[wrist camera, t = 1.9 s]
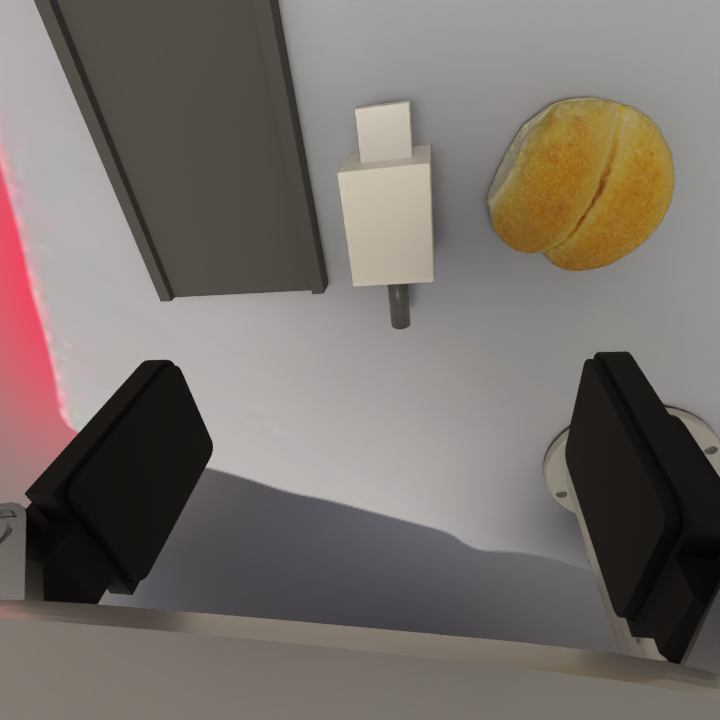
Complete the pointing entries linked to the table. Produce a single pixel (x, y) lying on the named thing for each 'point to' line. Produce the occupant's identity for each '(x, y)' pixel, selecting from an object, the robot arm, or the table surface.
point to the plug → (388, 206)
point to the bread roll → (583, 183)
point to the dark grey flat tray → (196, 138)
